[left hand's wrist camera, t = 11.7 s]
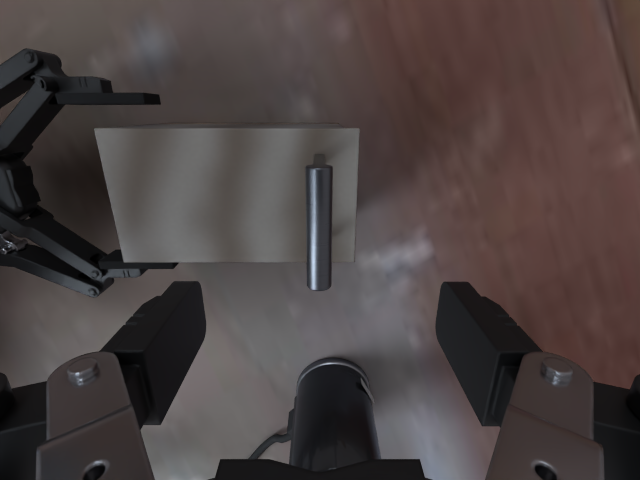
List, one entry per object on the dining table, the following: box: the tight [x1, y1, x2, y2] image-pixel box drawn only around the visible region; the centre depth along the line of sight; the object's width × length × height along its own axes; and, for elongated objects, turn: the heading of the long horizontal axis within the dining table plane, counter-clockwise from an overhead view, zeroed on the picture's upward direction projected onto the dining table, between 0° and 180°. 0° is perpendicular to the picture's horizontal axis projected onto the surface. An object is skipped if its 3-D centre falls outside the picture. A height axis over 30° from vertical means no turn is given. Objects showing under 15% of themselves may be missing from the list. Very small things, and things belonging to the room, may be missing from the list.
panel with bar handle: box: [94, 128, 360, 291], centre depth 22 cm, size 18×10×8 cm, turn 90°
